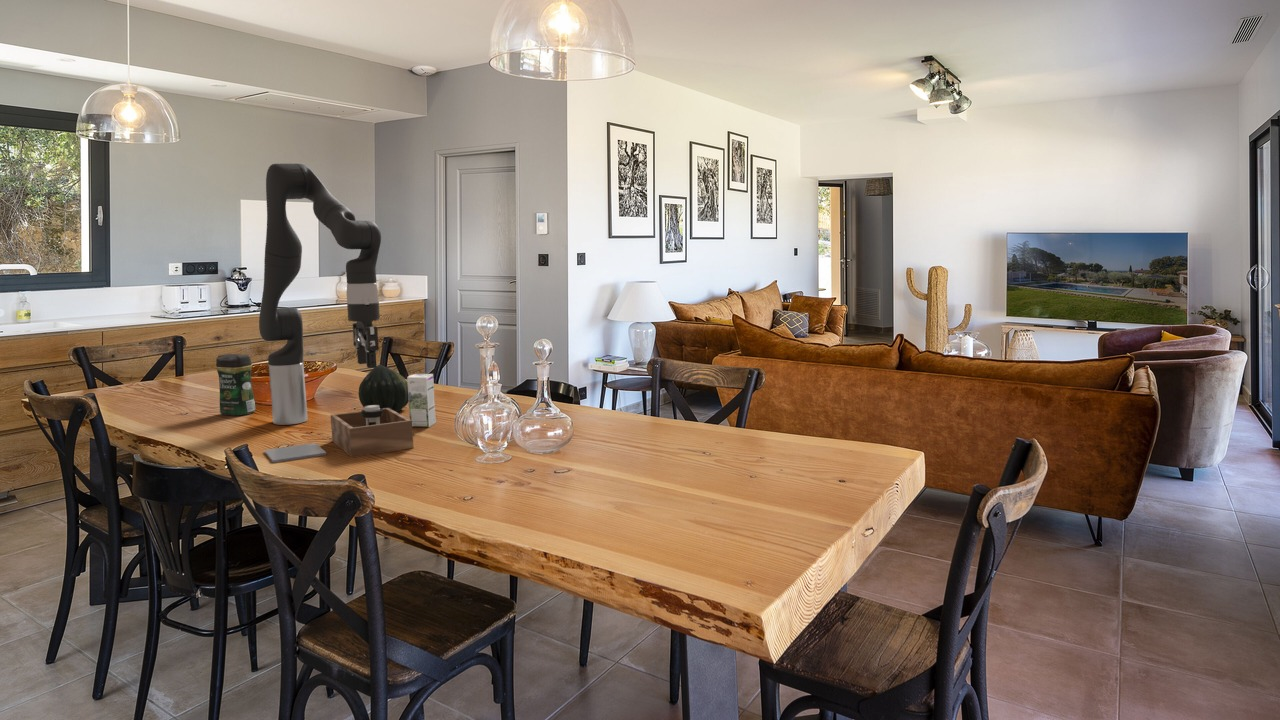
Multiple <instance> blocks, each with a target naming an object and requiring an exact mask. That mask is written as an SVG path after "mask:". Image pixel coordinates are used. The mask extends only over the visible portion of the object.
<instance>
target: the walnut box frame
mask: <svg viewBox="0 0 1280 720" xmlns="http://www.w3.org/2000/svg"><path fill="white" fill-rule="evenodd" d="M361 411H362V410H359V411H352V412H350V411H349V412H344V413H335V414H330V427H331V441H332V442H333V443H334V444H335V445H337V446H338V447H339V448H340V449H341V450H342V451H344V452H345V453H346V454H347V455H349V456H350V457H351V458H357V457H362V456H369V455H376V454H382V453H388V452H389V453H391V452H397V451H402V450H409V449H414V435H413V434H414V433H413V427H412V420H410V418H408V417H406V416H405V415H403V414H402V413H401V414H400V413H399V412H395V411H393V410H392V409H390V408H383V412H382V414H383V415H382V416H380V424H376V425H369V426H366V418H364V417H363V416H362V413H361Z"/></svg>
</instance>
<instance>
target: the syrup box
mask: <svg viewBox="0 0 1280 720" xmlns="http://www.w3.org/2000/svg"><path fill="white" fill-rule="evenodd" d="M406 379H407V380H406V381H407V383H408V399H409V401H408V413H409V419H410V420H412V428H430V427H432V426H434V425H435V424H436V422H437V421H436V419H437V418H436V407H435V406H436V405H435V385H434V383H435V382H434V381H435V379H434V373H413V374H410V375H408V376H407V378H406Z"/></svg>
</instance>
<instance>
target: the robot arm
mask: <svg viewBox="0 0 1280 720" xmlns="http://www.w3.org/2000/svg"><path fill="white" fill-rule="evenodd" d="M265 175H266V177H265V194H266V199H265V200H266V231H265V233H266V235H265V244H264V246H265V247H264V260H263V261H264V267H263V268H264V269H263V270H264V271H263V275H264V276H263V291H262V296H261V297H262V298H261V301H260V302H261V303H260V310H259V316H258V317H259V318H258V319H259V320H258V330H259V334H260V337H261V338H262V339H263V341H267V342H276V341H286V344H285V345H284V346H282V347H281V348H279V349H278V350H276V351H274V352H272V353H269V355H268V356H267V360H268V361H267V363H268V375H269V384H270V386H269V387H270V399H271V400H270V401H271V413H272V423H273V424H274V425H279V426H280V425H281V426H285V425H287V426H288V425H289V426H290V425H296V424H297V425H298V424H301V423H305V422H307V421H308V408H307V406H308V405H307V393H306V380H305V379H306V378H305V366H304V332H303V331H304V329H303V328H304V326H303V317H302V314H301V311H300V310H299V309H298V308H297V307H278V305H279V303H280V300H281V298H282V296H283V294H284V293H285V291H286V290H287V288H288V287H289V286H290V285H291V284H292V282H293V281H294V280H295V278H296V277H297V276H298V274H299V273H300V270H301V267H302V256H303V246H302V242H301V240H300V239H299V237H298V235H297V232H296V231H295V230H294V228H293V227H292V225H291V223H290V221H289V219H288V216H287V204H286V203H287V200H303V199H306V200H308V201H311V202H312V209H313V210H312V211H313V213H314V216H315V218H316V219H317V220H318V221H319V222H320V223H321V224H322V225H323V226H325V227H326V228H328V230H330V232H331V234H332V235H333V238H334V239H335V242H336V243H337V244H338V245H339V246H340V247H342V248H343V249H346V250H360V252H359V255H358V257H357V258H354V259H350V260H348V261H347V262H346V264H345V273H346V274H345V275H346V276H345V277H346V305H347V306H346V307H347V318H348V321H349V322H353V323H352V334H353V335H352V336H353V338H352V339H353V346H354V347H355V350H356V355H357V364H358V365H366V367H367V368H368V369H373V368H375V367H376V366H377V356H376V355H377V351H379V350H380V348H379V334H378V327H377V326H376V325H375V326H373V321H379V320H380V317H381V316H380V301H379V299H380V298H379V289H378V284H377V282H378V281H377V269H376V268H377V267H376V266H377V262H378V257H379V252H380V247H381V243H382V233H381V229H380V228H379V226H378V224H376V223H375V222H374V221H372V220H356V216H355V214H354V213H353V211H352V210H350V209H349V207H347V206H346V205H344V204H343V203H342V201H339V200H338V199H337V198H336V197H335V196H334V195H333V194H332V193H331V192H330V191H329V190H328V189H327V187H326V185H325V184H324V183H323V182H322V181H321V179H320V178H319V177H318V175H316V174H315V172H314V171H313V170H312V169H311V168H310V167H309V166H307V165H305V164H302V163H272V164H271V165H269V167H268V168H267V171H266V174H265Z"/></svg>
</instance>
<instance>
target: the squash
mask: <svg viewBox="0 0 1280 720" xmlns="http://www.w3.org/2000/svg"><path fill="white" fill-rule="evenodd" d="M406 379H407V378H405V377H404V376H403V375H401V373H398V372H397V371H394V369H393V370H392V369H391V368H389V367H387V366H384V365H382V364H378V365H376V367H375V368H371V370H370V371H369V372H368V373H367V374H366V375H365V376H364V378H363V379H362V381H361V382H360V383H359V387H358V399H359V401H360V404H361V406H362V407H363V409H365V406H369V405H379V408H381V409H383V408H390V409H392V410H393V411H395V412H397V413H399V411H401V410H402V409H404V408H405V407H406V406H407V405H409V399H408V383H407V380H406Z"/></svg>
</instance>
